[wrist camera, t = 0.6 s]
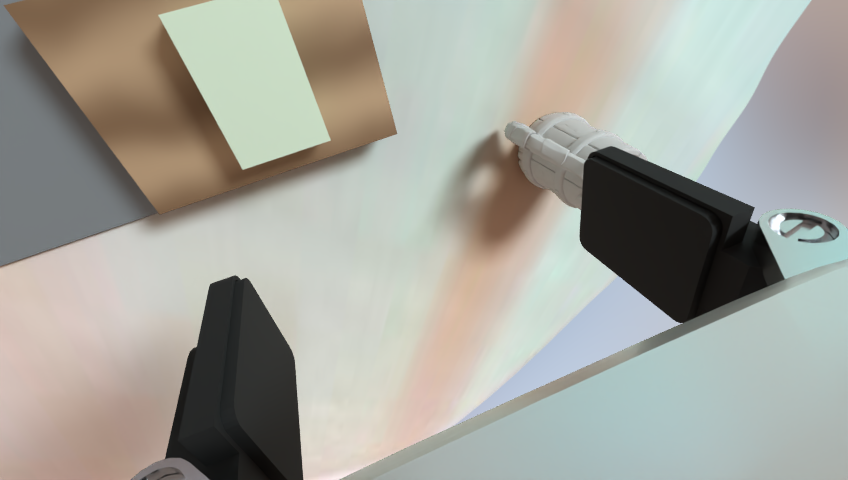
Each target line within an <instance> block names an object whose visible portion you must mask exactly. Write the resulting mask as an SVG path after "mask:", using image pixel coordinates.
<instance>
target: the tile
mask: <svg viewBox="0 0 848 480" xmlns="http://www.w3.org/2000/svg"><path fill="white" fill-rule="evenodd" d="M158 16H159V18H160V19H161V21H162V23H163V25H164V27H165V29H166V30H167V32H168V34H169V36H170V38H171V39H172V41H173V43H174V45H175V47H176V49H177V50H178V52H179V54H180V56H181V58H182V60H183V61H184V63H185V65H186V67H187V69H188V71H189V72H190V74H191V76H192V78H193V80H194V82H195V83H196V85H197V87H198V89H199V91H200V93H201V94H202V96H203V98H204V100H205V102H206V104H207V105H208V107H209V109H210V111H211V113H212V115H213V116H214V118H215V120H216V122H217V124H218V126H219V127H220V129H221V131H222V133H223V135H224V137H225V138H226V140H227V142H228V144H229V146H230V148H231V149H232V151H233V153H234V155H235V157H236V158H237V160H238V162H239V164H240V166H241V168H242V169H243V170H244V169H247V168H250V167H253V166H256V165H259V164H262V163H265V162H268V161H271V160H274V159H277V158H280V157H283V156H286V155H289V154H292V153H295V152H298V151H301V150H304V149H307V148H310V147H313V146H316V145H319V144H322V143H325V142H328V141H331V140H330V137H329V134H328V132H327V129H326V126H325V124H324V121H323V118H322V116H321V113H320V110H319V108H318V105H317V102H316V100H315V97H314V94H313V92H312V89H311V86H310V84H309V81H308V78H307V76H306V73H305V70H304V68H303V65H302V62H301V59H300V57H299V54H298V51H297V49H296V46H295V43H294V41H293V38H292V35H291V33H290V30H289V27H288V25H287V22H286V19H285V17H284V14H283V11H282V9H281V6H280V3H279V1H278V0H213V1H209V2H205V3H201V4H198V5H194V6H190V7H186V8H182V9H179V10H175V11H171V12H167V13H164V14H160V15H158Z"/></svg>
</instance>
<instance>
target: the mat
mask: <svg viewBox="0 0 848 480" xmlns="http://www.w3.org/2000/svg"><path fill="white" fill-rule="evenodd" d="M19 1H23V0H0V266H2V265H5V264H8V263H11V262H14V261H17V260H20V259H23V258H26V257H29V256H32V255H35V254H37V253H40V252H43V251H46V250H49V249H52V248H55V247H58V246H61V245H64V244H67V243H70V242H73V241H76V240H79V239H82V238H85V237H88V236H91V235H93V234H96V233H99V232H102V231H105V230H108V229H111V228H114V227H117V226H120V225H123V224H126V223H129V222H132V221H135V220H138V219H141V218H144V217H147V216H150V215H152V214H155V213H158V212H157V210H156V209H155V208H154V206H153V205H152V204H151V202H150V201H149V200H148V198H147V197H146V196H145V194H144V193H143V192H142V190H141V189H140V187H139V186H138V185H137V183H136V182H135V181H134V179H133V178H132V177H131V175H130V174H129V173H128V171H127V170H126V169H125V167H124V166H123V165H122V163H121V162H120V161H119V159H118V158H117V157H116V155H115V154H114V153H113V151H112V150H111V149H110V147H109V146H108V145H107V143H106V142H105V141H104V139H103V138H102V137H101V135H100V134H99V133H98V131H97V130H96V129H95V127H94V126H93V125H92V123H91V122H90V121H89V119H88V118H87V117H86V115H85V114H84V113H83V111H82V110H81V109H80V107H79V106H78V105H77V103H76V102H75V101H74V99H73V98H72V97H71V95H70V94H69V93H68V91H67V90H66V88H65V87H64V86H63V84H62V83H61V82H60V80H59V79H58V78H57V76H56V75H55V74H54V72H53V71H52V70H51V68H50V67H49V66H48V64H47V63H46V62H45V60H44V59H43V58H42V56H41V55H40V54H39V52H38V51H37V50H36V48H35V47H34V46H33V44H32V43H31V42H30V40H29V39H28V38H27V36H26V35H25V34H24V32H23V31H22V30H21V28H20V27H19V26H18V24H17V23H16V22H15V20H14V19H13V18H12V16H11V15H10V14H9V12H8V11H7V10H6V8H5V7H4V6H3V5H7V4H11V3H15V2H19Z"/></svg>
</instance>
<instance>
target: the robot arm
mask: <svg viewBox="0 0 848 480" xmlns="http://www.w3.org/2000/svg"><path fill="white" fill-rule="evenodd" d="M753 211H754V207H752V206H750V205H748V204H745V203H743V202H741V201H739V200H736V199H734V198H731V197H729V196H727V195H725V194H722V193H720V192H718V191H715V190H713V189H711V188H709V187H706V186H704V185H702V184H699V183H697V182H695V181H692V180H690V179H688V178H685V177H683V176H681V175H679V174H676V173H674V172H672V171H669V170H667V169H665V168H662V167H660V166H658V165H656V164H653V163H651V162H649V161H646V160H644V159H642V158H639V157H637V156H635V155H632V154H630V153H628V152H626V151H623V150H621V149H619V148H616V147H613V146H609V147H606V148H603V149H600V150H597V151H594V152H592V153H590V154H589V156H588V159H587V160H586V161H585V163H584V168H583V186H582V204H581V221H580V242H581V244H582V246H583V247H584V248H585V249H586V250H587V251H588V252H589V253H591V254H592V255H593V256H594V257H596V258H597V259H598V260H599V261H601V262H602V263H603V264H604V265H606V266H607V267H608V268H609V269H611V270H612V271H613V272H614V273H616V274H617V275H618V276H619V277H621V278H622V279H623V280H625V281H626V282H627V283H628V284H629V285H631V286H632V287H633V288H634V289H636V290H637V291H638V292H640V293H641V294H642V295H643V296H644V297H646V298H647V299H648V300H649V301H651V302H652V303H653V304H654V305H656V306H657V307H658V308H660V309H661V310H662V311H663V312H665V313H666V314H667V315H669V316H670V317H671V318H672V319H673V320H675V321H676V322H679V323H683V324H680V325H678V326H676V327H673V328H671V329H669V330H667V331H664V332H662V333H660V334H658V335H655V336H653V337H651V338H649V339H646V340H644V341H642V342H640V343H637V344H635V345H633V346H631V347H629V348H626V349H624V350H622V351H619V352H617V353H615V354H613V355H610V356H609V357H606V358H604V359H602V360H599V361H597V362H595V363H593V364H591V365H588V366H586V367H584V368H581V369H579V370H577V371H575V372H572V373H570V374H568V375H566V376H564V377H561V378H559V379H557V380H555V381H553V382H550V383H548V384H546V385H544V386H542V387H539V388H537V389H535V390H533V391H530V392H528V393H526V394H524V395H521V396H519V397H517V398H515V399H513V400H510V401H508V402H506V403H504V404H502V405H500V406H497V407H495V408H493V409H491V410H488V411H486V412H484V413H482V414H480V415H477V416H475V417H473V418H471V419H469V420H466V421H464V422H462V423H460V424H458V425H455V426H453V427H451V428H449V429H447V430H444V431H442V432H440V433H438V434H436V435H433V436H431V437H429V438H427V439H425V440H422V441H420V442H418V443H416V444H414V445H411V446H409V447H407V448H405V449H403V450H401V451H399V452H396V453H394V454H392V455H390V456H388V457H386V458H384V459H382V460H380V461H377V462H375V463H373V464H371V465H369V466H367V467H365V468H363V469H361V470H358V471H356V472H354V473H352V474H350V475H348V476H346V477H344V478H342V479H340V480H848V229H847V228H846V227H845V226H844V225H843V224H842V223H840V222H838V221H836V220H835V219H833V218H831V217H829V216H826V215H823V214H820V213H817V212H812V211H807V210H800V209H777V210H773V211H769V212H767V213H765V214H763V215H762V216H761V217H760V219H759V221H758V224H756V223H754V222H751V221H750V219H751V216H752V213H753ZM131 480H303V470H302V456H301V442H300V428H299V414H298V400H297V385H296V371H295V360H294V356H293V353H292V351H291V349H290V347H289V345H288V344H287V342H286V340H285V339H284V337H283V335H282V334H281V332H280V330H279V329H278V327H277V325H276V324H275V322H274V320H273V319H272V317H271V315H270V314H269V312H268V310H267V309H266V307H265V305H264V304H263V302H262V300H261V299H260V297H259V295H258V294H257V292H256V290H255V289H254V287H253V285H252V284H251V282H250V281H249V280H248V279H247V278H245V279H242V280H240V278H239V277H238V276H232V277H229V278H226V279H223V280H220V281H217V282H215V283H212V284H210V286H209V291H208V295H207V300H206V305H205V310H204V315H203V320H202V325H201V329H200V334H199V339H198V344H197V347H196V348H193V349H192V350H191V351H190V353H189V356H188V359H187V363H186V368H185V372H184V377H183V381H182V386H181V390H180V395H179V399H178V404H177V408H176V412H175V417H174V421H173V426H172V430H171V435H170V439H169V444H168V448H167V453H166V457H165V459H164V460H161V461H158V462H155V463H154V464H152V465H150V466H148V467H147V468H145V469H143V470H142V471H140V472H139V473H138V474H137V475H136V476H134V477H133V478H132V479H131Z"/></svg>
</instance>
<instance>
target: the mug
mask: <svg viewBox="0 0 848 480" xmlns="http://www.w3.org/2000/svg"><path fill="white" fill-rule="evenodd" d="M504 132H505V136H506V138H507V139H509V140H510V141H512V142H513V143H515V144H516V145H518V146H519V152H518V157H519V159H520V160H519V166H520V168H521V170H522V171H523V172H524V174H525V176H526V178H527V179H528V180H529V181H530V182H531V183H532V184H534V185H535V186H537V187H539V188H542V189H549V190H551V191H552V192H553V193H555V194H556V195H557V196H558V197H559V199H561V200H562V201H563V202H564V203H565V204H567V205H569V206H571V207H573V208H579V209H580V210H581V204H582V186H583V168H584V163H585V161H586V160H587V159H588V156H589V154H590V153H592V152H594V151H597V150H600V149H603V148H606V147H609V146H613V147H616V148H619V149H621V150H623V151H626V152H628V153H630V154H632V155H635V156H637V157H639V158H642V159H644V160H646V161H648V160H647V158H646V156H645V155H644V154H643V153H641V152H640V150H638V149H636V148H634V147H632V146H630V145H628V144H626V143H624V141H623V140H622V139H621V138H620V137H619V136H617V135H615V134H613V133H611V132H608V131H603V130H598V129H596V128H594V127H592V126H590V125H589V123H588V122H587V121H586V120H585V119H584V118H582V117H581V116H579V115H576V114H574V113H568V112H563V113H552V114H548V115H545V116H543V117H541V118H540V120H539V119H537V120H536V121H535V122H534V123H533V124H532V125H531V126H530V127H528V126H526V125H525V124H522V123H519V122H516V121H513V122H512V123H508V124H507V126H506V128H505V131H504Z"/></svg>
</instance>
